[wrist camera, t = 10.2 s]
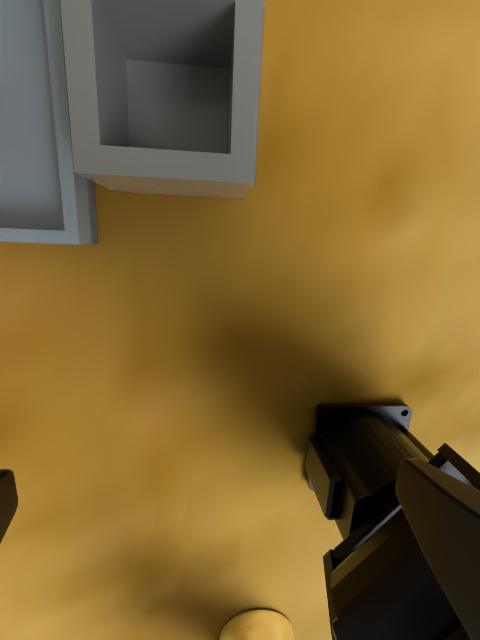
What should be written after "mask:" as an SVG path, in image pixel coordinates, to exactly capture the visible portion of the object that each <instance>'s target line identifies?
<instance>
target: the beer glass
mask: <svg viewBox="0 0 480 640" xmlns="http://www.w3.org/2000/svg"><path fill="white" fill-rule="evenodd" d="M219 640H294V636H293V629H292V626H291V624H290V622H289V621H288V619H287V618H286V617H284V616H283V615H282V614H280V613H278V612H275V611H272V610H267V609H256V610H250V611H246V612H243V613H241V614H239V615H237V616H235V617H234V618H232V619H231V620H230V621H229V622H228V623H227V624H226V625H225V626H224V628H223V629H222V631H221V634H220V638H219Z"/></svg>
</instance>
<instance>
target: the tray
mask: <svg viewBox="0 0 480 640" xmlns="http://www.w3.org/2000/svg"><path fill="white" fill-rule="evenodd" d="M0 242H23V243H48V244H73V245H85V244H98V235H97V220H96V206H95V191H94V182H93V181H90V180H88V179H86V178H84V177H82V176H80V175H78V174H76V173H74V165H73V153H72V141H71V129H70V116H69V104H68V92H67V80H66V68H65V56H64V44H63V31H62V19H61V7H60V0H0Z"/></svg>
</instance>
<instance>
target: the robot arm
mask: <svg viewBox="0 0 480 640" xmlns="http://www.w3.org/2000/svg"><path fill="white" fill-rule="evenodd" d="M324 410H326V412H325V413H324V414H321V412H322V411H324ZM403 410H404V412H403V413H401V412H402V411H403ZM411 414H412V410H411V408H410V407H409V406H407V405H406V404H404V403H352V404H320V405H318V406H317V407H316V409H315V416H314V424H313V433H312V434H311V435H310V436H309V438H308V446H307V455H306V464H305V469H306V472H307V474H308V477H307V483H308V486H309V488H310V489H311V490H313V491H315V494H316V496H317V499H318V501H319V503H320V506H321V508H322V511H323V513H324V516H325V517H326V518H327V519H328V520H335V522H336V524H337V526H338V529H339V531H340V533H341V535H342V538H343V541H342V542H341V543H340V544H339V545H338V546H337V547H336V548H335V549H334V550H332V549H330V550H329V551H328V552H327V553H326V554H325V555H324V556H323V561H324V571H325V580H326V589H327V598H328V607H329V617H330V626H331V634H332V640H480V473H479V472H478V471H477V470H476V469H475V468H473V467H472V466H471V465H470V464H469V463H468V462H467V461H465V460H464V459H463V458H462V457H461V456H460V455H459V454H457V453H456V452H455V451H454V450H453V449H452V448H450V447H449V446H448V445H447V444H446V443H444V444H443V445H442V446H441V447H440V448H439V449H438V451H439V452H438V453H437V454H436V455H435V456H434V455H433V454H432V453H431V452H430V451H429V450H428V449H427V448H426V447H425V446H424V445H422V444H421V443H420V442H419V441H418V440H417V439H416V438H415V437H414V436H413V435H412V434H411V433H410V432H409V431H408V429H409V424H410V419H411ZM17 505H18V496H17V490H16V484H15V477H14V473H13V472H12V470H9V469H0V543H1V541H2V539H3V537H4V535H5V533H6V531H7V529H8V527H9V525H10V523H11V521H12V518H13V516H14V514H15V512H16V509H17Z"/></svg>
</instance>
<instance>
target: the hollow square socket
mask: <svg viewBox="0 0 480 640" xmlns="http://www.w3.org/2000/svg"><path fill="white" fill-rule="evenodd" d="M60 7H61V19H62V31H63V44H64V56H65V68H66V80H67V92H68V104H69V116H70V129H71V141H72V153H73V165H74V173H76V174H78V175H80V176H82V177H84V178H86V179H88V180H90V181H93V182H95V183H97V184H99V185H101V186H103V187H105V188H107V189H109V190H111V191H113V192H125V193H143V194H161V195H179V196H196V197H214V198H232V199H243V198H244V197H245V196H246V195H247V193H248V192H249V191H250V190H251V188H252V187H253V186H254V185H255V177H256V157H257V137H258V117H259V98H260V78H261V58H262V38H263V18H264V0H60Z"/></svg>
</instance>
